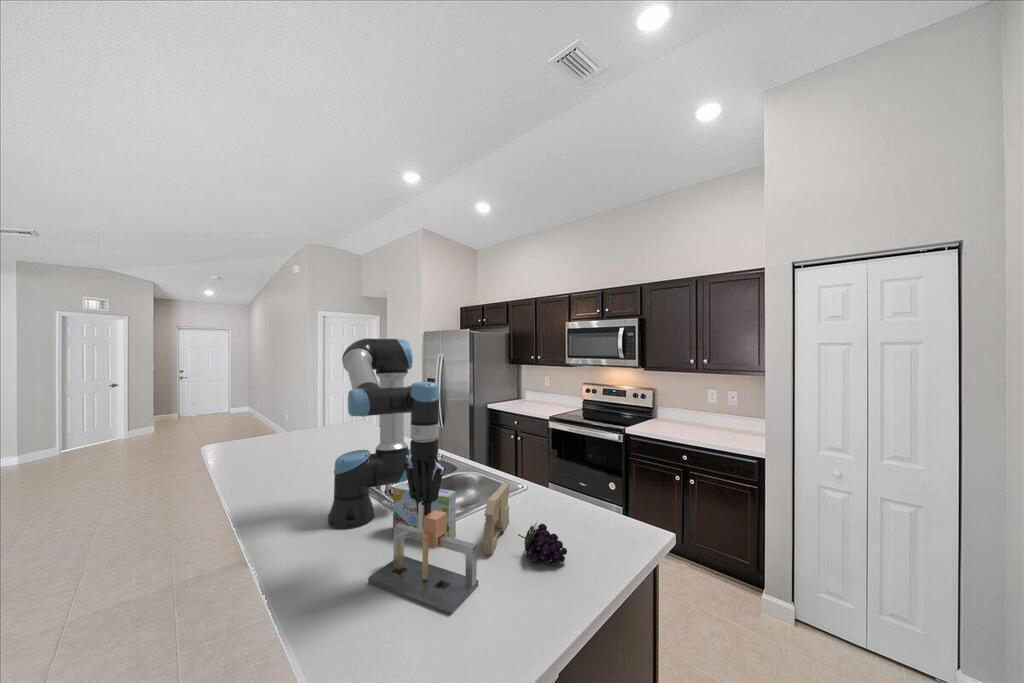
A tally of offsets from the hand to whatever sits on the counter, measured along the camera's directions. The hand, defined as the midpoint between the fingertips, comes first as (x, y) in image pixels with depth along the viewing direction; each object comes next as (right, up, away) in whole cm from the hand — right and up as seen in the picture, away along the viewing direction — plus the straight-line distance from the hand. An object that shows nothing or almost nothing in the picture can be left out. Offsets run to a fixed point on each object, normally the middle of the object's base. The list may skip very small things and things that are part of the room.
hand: (423, 526), depth 103 cm
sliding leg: (+3, -11, -3) cm, 11 cm away
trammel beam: (+2, -12, -3) cm, 13 cm away
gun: (+19, -14, +20) cm, 31 cm away
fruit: (+33, -13, +7) cm, 36 cm away
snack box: (-5, -13, +21) cm, 25 cm away
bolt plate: (+1, -13, -5) cm, 14 cm away
